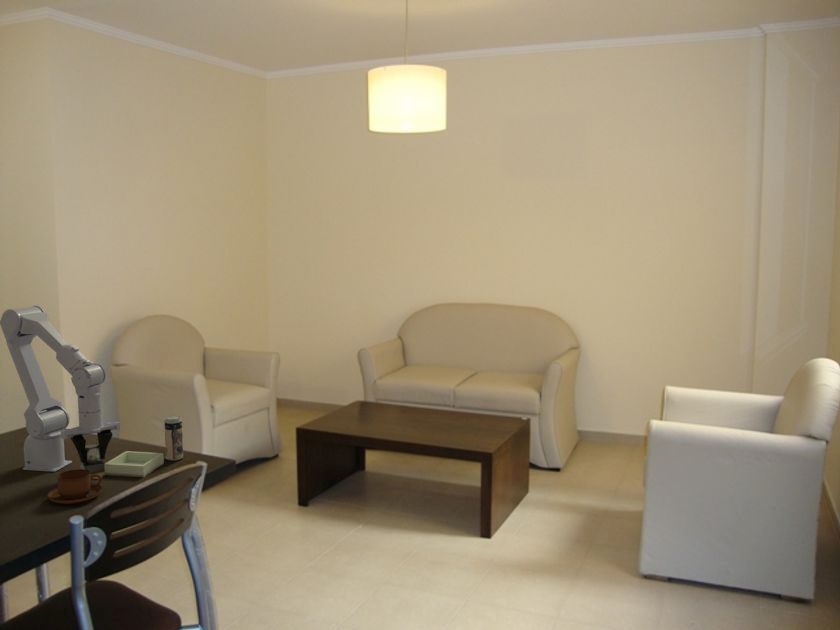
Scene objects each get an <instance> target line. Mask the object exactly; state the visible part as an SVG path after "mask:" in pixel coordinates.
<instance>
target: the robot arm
mask: <svg viewBox="0 0 840 630" xmlns="http://www.w3.org/2000/svg"><path fill="white" fill-rule="evenodd" d="M0 327H1V330H2V333H3V336H4V338H5V342H6V345H7V348H8V350H9V353H10V356H11V358H12V361H13V363H14V367H15V369H16V371H17V374H18V377H19V380H20V382H21V384H22V387H23V390H24V393H25V396H26V397H27V400H28V403H29V406H27V408H26V409H25V411H24V413H23V416H24V419H25V428H26V432H27V433H28V434H29V435H28V436H27V437H26V438H25V439H24V442H23V459H24V467H23V468H22V470H24V471H36V472H37V471H38V472H54V473H55V472H57V471H58V470H59V471H60V469H62V468H65V467H66V466H68V465H70V464H72V463H73V460H66V457H65V456H66V455H65V442H64V441H65V440H68V439H70V440H71V442H72V443H73V445H74V446H75V448H76V451H77V455H78V456H79V459H80V461H81V462H82V463H86V455H85V446H86V445H87V444H86V443H87V439H85V437H84V436H87V435H92V434H93V435H94V434H96V435H97V441H98V445H100V457H101V459H102V460H105V458H106V454H107V453H106V452H107V448H108V446H109V443H110V441H111V439H112V437H113V432H112V431H115V430H116V431H119V430H121V422H119V421H118V420H115V421H109V422H108V421H107V422H104V421H103V403H102V384H103V383H104V382H105V380H106V371H105V368H104V367H103V366H102V365H101V364H100V363H97V362H93V361H90V359H89V358H88V357H87V356H86V355H85V354H84V353H83V352H82V351H81V350H80V348H79V347H78V346H77V345H74V344H68V343H67V342H66V341H65V340H64V339H63V337H62V336H61V335H60V334H59V332H58V331H57V330H56V328H55V327H54V326H53V325H52V323H51V322H50V317H49V314H48V313H47V312H46V311H45V309H43V307H41V306H39V305H32V306H28V307H21V308H14V309H13V308H10V309H6V310H4V312H3V313H2V315H1V318H0ZM36 337H38V338H39V339H40V340H42V342H44V343H45V344H46V345H47V346H48V347H49V348H50V349H51V350H52V351H54V353H55V354H56V355H55V360H56V361H57V362H58V363H59V364H60V365H61V366H62V367H63V368H64V369H65V370H66V372H68V374H69V375H71V378H70V379H71V383H72V385H73V386H74V389H75V394H76V395H77V405H78V406H77V408H78V409H77V410H78V411H77V412H78V426H76V427H72V428H68V429H67V427H68V426H69V424H70V416H69V415H70V414H69V413H68V411H67V410H66V409H65V408H64V406H63V404H62V402H61V401H59V400H58V399H56V398H54V397H52V396H51V393H50V390H49V388H48V385H47V382H46V381H45V377H44V375H43V372H42V370H41V367H40V363H39V361H38V359H37V355H36V354H35V351H34V348H33V345H32V342H33V340H34V339H35V338H36ZM81 462H80V463H81Z"/></svg>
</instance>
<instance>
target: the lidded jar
mask: <svg viewBox="0 0 840 630" xmlns="http://www.w3.org/2000/svg"><path fill="white" fill-rule="evenodd" d="M183 435H184V434H183V419H182V418H181V416H180V415H169V416H166V417H165V420H164V441H165V443H164V445H165V459H166V460H168V461H171V462H175V461H179V460H181V459H183V458H184V443H183V442H184V440H183V439H184V438H183V437H184V436H183Z"/></svg>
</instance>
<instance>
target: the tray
mask: <svg viewBox="0 0 840 630" xmlns="http://www.w3.org/2000/svg"><path fill="white" fill-rule="evenodd" d="M164 460H165V459H164V453H163V452H151V451H150V452H147V451H130V450H129V451H128V450H126V451H124V452H122V453H120V454H119V455H117V456H115V457H113V458H112V459H110V460H108V461H107V462H104V468H105V475H104V476H115V477H130V478H131V477H133V478H134V477H135V478H145V477H147V476H148V475H149V474H151V473H152V472H154V471H155V470H156V469H158V468H159V467H161V466H163V465H164V464H165V463H164Z"/></svg>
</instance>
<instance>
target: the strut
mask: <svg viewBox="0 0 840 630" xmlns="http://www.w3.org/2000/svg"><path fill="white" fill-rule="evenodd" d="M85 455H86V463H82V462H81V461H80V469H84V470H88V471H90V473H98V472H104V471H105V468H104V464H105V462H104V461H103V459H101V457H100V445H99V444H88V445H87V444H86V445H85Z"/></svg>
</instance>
